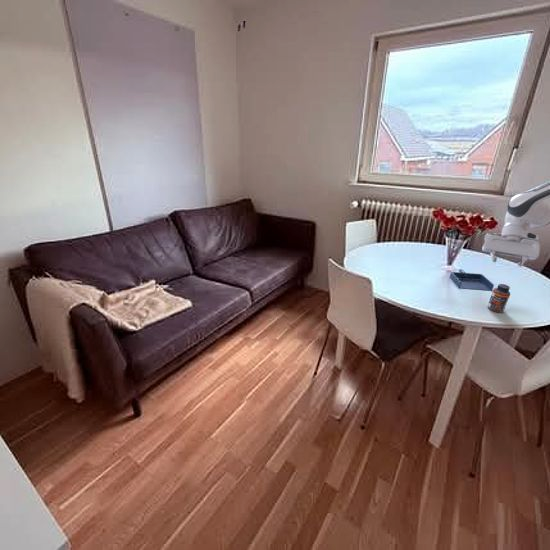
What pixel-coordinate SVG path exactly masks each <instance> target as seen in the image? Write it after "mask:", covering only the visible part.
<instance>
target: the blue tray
mask: <svg viewBox="0 0 550 550" xmlns="http://www.w3.org/2000/svg"><path fill="white" fill-rule="evenodd" d="M449 279H450V280H451V281H452V282H453V284H455V286H456V287H457V288H458V289H463V290H464V289H465V290H476V291H477V290H479V291H488V292H489V291H490V292H493V290H494V286H495V284H494V283H493V282H492V281H490V280H489V279H488V278H487V277H486V276H485V275H484V274H482V273H471V272H466V271H464V269H462V268H459V269H458V271H451V272H450V274H449Z"/></svg>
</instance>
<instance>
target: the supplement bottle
mask: <svg viewBox="0 0 550 550" xmlns="http://www.w3.org/2000/svg"><path fill="white" fill-rule="evenodd" d="M510 288H511V286H509V285H507V284H504V283H499V284H498V285H497V287H496V288H493V289H492V292H491V296H490V297H489V301H488V303H487V309H489V311H491V310H492V312H494V311H495V313H504V311H505V308H506V306H507V304H508V301H509V299H510V296H511V292H510Z"/></svg>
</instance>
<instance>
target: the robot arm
mask: <svg viewBox="0 0 550 550" xmlns="http://www.w3.org/2000/svg"><path fill="white" fill-rule="evenodd" d="M547 199H550V180H548V181H547V182H545V183H543V184H540V185H538V186H536V187H533V188H531V189H529V190H526V191H522V192H520V193H518V194H514V196H512V197H511V198H510V199H509V200H508V203H507V206H506V207H507V211H506V213H505V216H504V219H503V227H502V228H501V233H496V232H495V233H494V232H488V233H486V234H484V237H483V240H484V243H483V245H482V248H481V250H482V251H483V253H484V252H485V253H489V254H490V257H491V263H497V259H498V257H497V256H495V254H496V255H501V256H508V257H513V258H519V259H521V260H522V261H518V262H517V267H519V268H522V267H523V266H524V264H525V262H526V261H528V260H530V261H535V260H537V259H539V257H540V253H541V244H540V242H539V240H540V236H539V235H538V234H535V233H534V232H531V231H528V229H537V228H542V227H546V226H548V225H549V224H550V205H549V204H548V203H546V202H544V200H547Z"/></svg>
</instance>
